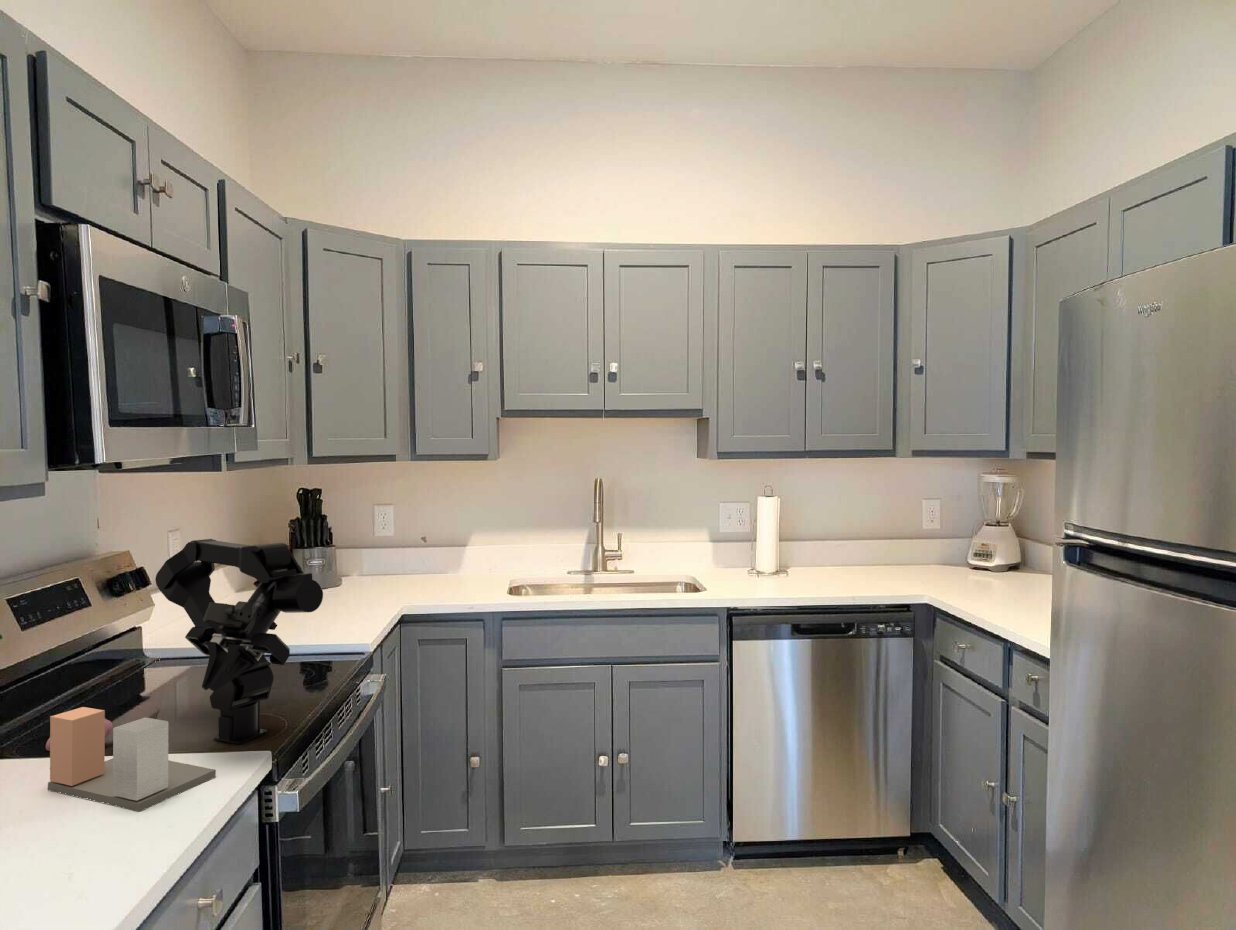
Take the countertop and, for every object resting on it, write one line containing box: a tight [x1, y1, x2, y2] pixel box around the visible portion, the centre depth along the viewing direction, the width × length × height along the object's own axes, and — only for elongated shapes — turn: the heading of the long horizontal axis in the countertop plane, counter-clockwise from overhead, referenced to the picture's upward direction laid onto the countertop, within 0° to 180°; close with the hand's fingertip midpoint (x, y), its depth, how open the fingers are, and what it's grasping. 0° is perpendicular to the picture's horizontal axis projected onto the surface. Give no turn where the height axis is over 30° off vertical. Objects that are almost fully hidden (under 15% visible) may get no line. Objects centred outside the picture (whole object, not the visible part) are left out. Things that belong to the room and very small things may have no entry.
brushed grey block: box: [112, 717, 169, 801], centre depth 113 cm, size 5×5×10 cm
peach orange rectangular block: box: [49, 706, 106, 786], centre depth 118 cm, size 5×5×10 cm
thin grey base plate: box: [47, 758, 217, 812], centre depth 119 cm, size 13×20×1 cm, turn 69°
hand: (207, 689), depth 124 cm, fingers closed
